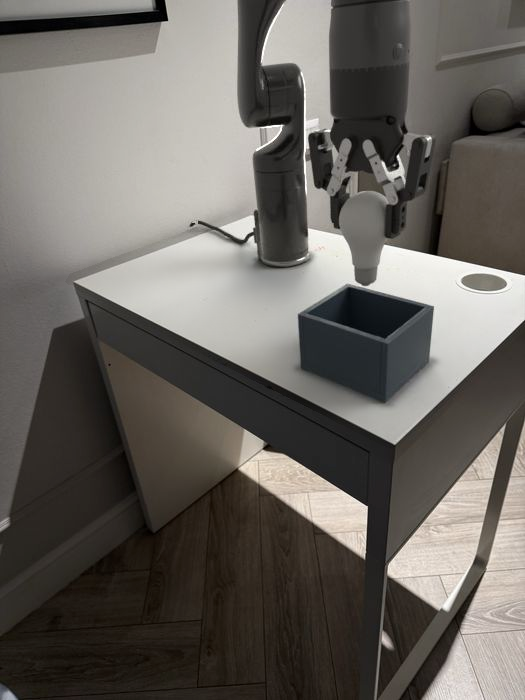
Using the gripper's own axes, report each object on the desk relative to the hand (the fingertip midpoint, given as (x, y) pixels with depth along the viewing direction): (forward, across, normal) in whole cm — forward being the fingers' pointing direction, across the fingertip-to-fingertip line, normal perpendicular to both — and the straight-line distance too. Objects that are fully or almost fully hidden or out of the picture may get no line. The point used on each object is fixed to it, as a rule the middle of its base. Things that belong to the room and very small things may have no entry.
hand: (366, 231), depth 58 cm
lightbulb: (+7, 0, 0) cm, 7 cm away
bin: (+18, 0, 0) cm, 18 cm away
